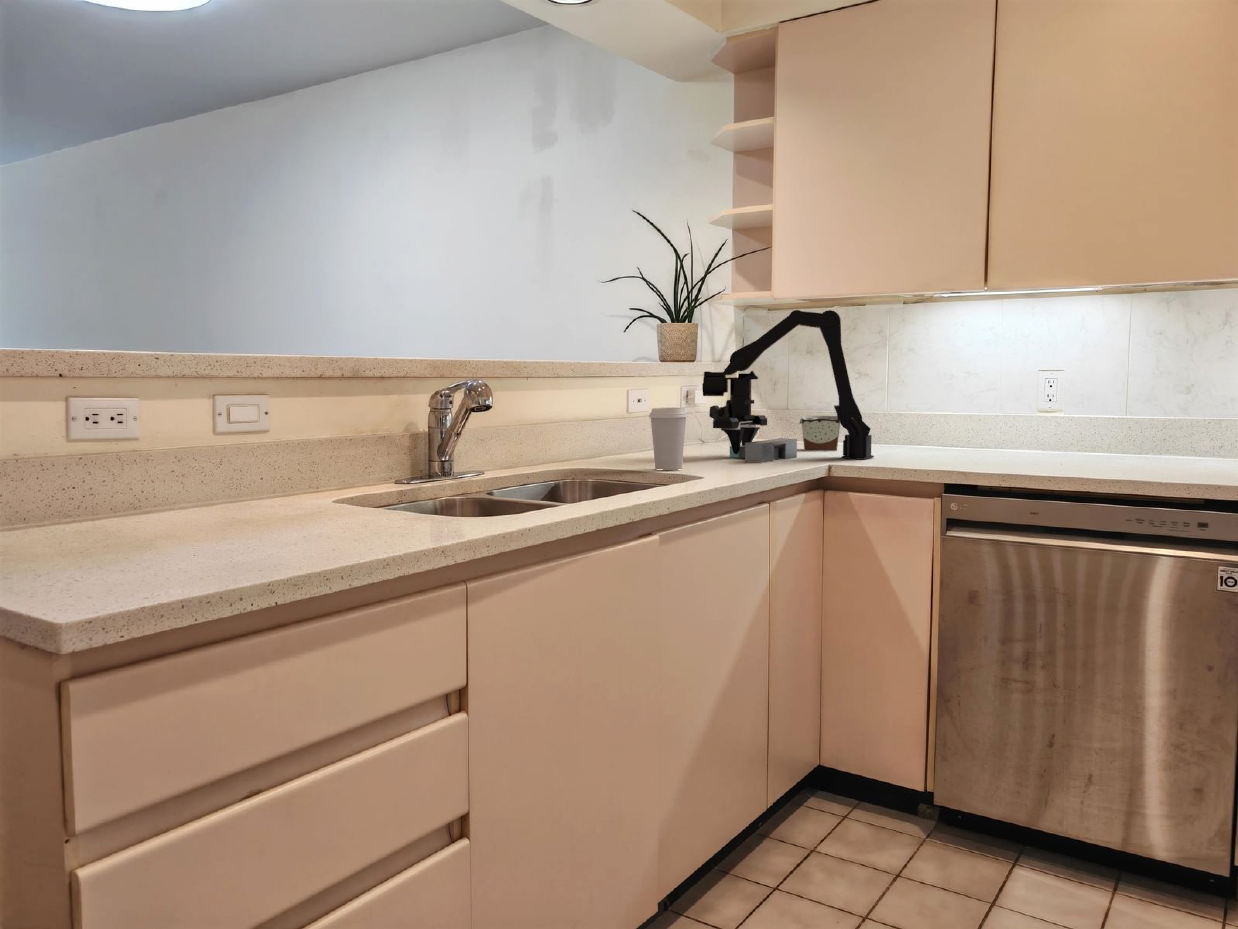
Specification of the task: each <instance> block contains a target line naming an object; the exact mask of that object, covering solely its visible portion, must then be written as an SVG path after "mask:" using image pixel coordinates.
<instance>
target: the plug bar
mask: <svg viewBox="0 0 1238 929" xmlns="http://www.w3.org/2000/svg"><path fill="white" fill-rule="evenodd" d="M729 458H738V459H745V446H743V445H742V444H741V445H740V449H739V452H738V454H734V452H733V449H732V446H731V445H730V446H729ZM774 460H778V448H775V447H774Z"/></svg>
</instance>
